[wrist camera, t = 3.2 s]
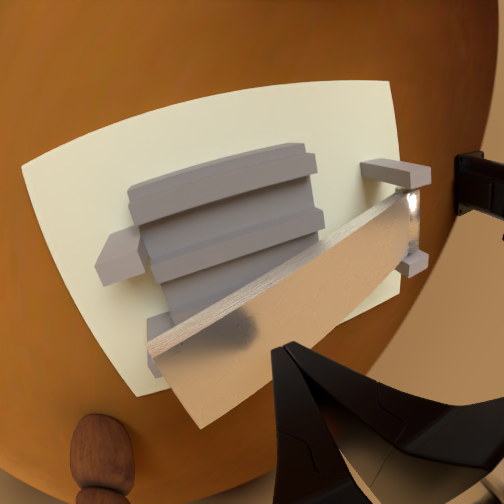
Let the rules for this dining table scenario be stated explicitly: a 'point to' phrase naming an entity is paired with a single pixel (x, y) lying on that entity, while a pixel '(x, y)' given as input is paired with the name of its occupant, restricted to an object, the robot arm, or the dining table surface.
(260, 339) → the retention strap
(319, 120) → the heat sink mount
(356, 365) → the dining table surface
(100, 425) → the wooden figurine
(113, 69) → the dining table surface
